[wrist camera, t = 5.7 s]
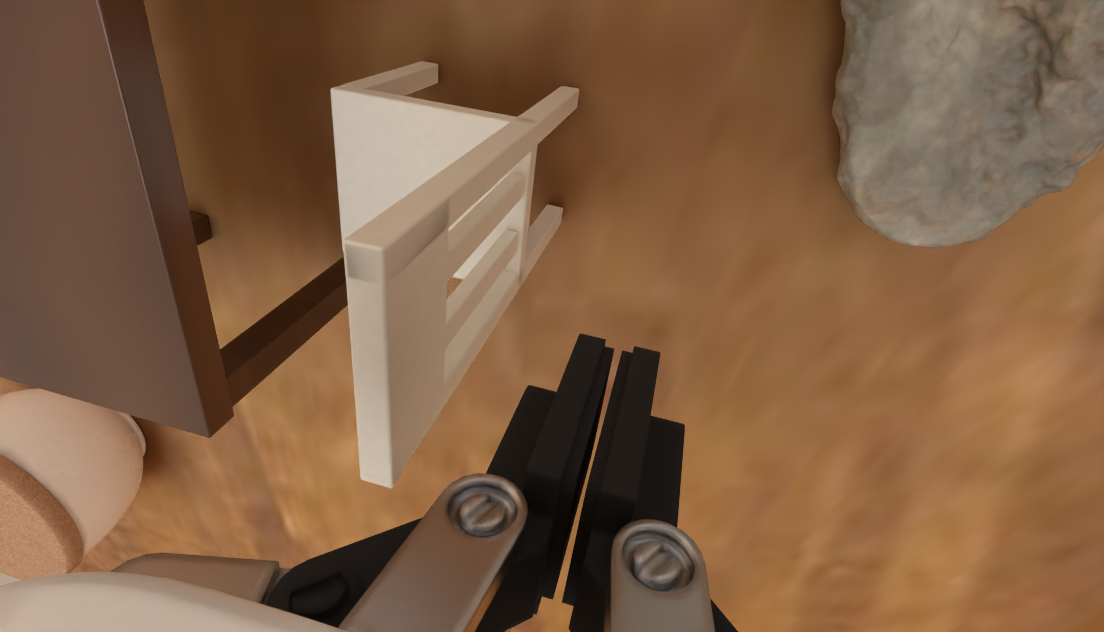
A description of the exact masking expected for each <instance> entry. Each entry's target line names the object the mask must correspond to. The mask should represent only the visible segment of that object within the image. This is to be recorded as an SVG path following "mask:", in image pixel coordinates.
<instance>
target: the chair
mask: <svg viewBox="0 0 1104 632" xmlns="http://www.w3.org/2000/svg"><path fill="white" fill-rule="evenodd" d="M437 83H438V64H436V63H430V62H424V61H421V62H418V63H414V64H411V65H407V66H404V67H400V68H397V69H394V70H390V71H387V72H383V73H380V74H376V75H373V76H370V77H366V78H363V79H359V80H356V81H352V82H349V83H346V84H343V85H340V86H337V87H334V88H331V90H330V92H331V106H332V119H333V132H334V145H335V158H336V172H337V185H338V198H339V211H340V225H341V238H342V250H343V252H344V263H345V276H346V286H347V299H348V313H349V326H350V340H351V353H352V367H353V380H354V393H355V407H356V420H357V434H358V447H359V466H360V478H361V479H362V480H364V481H367V482H371V483H374V484H378V485H381V486H384V487H388V488H392V487H393V486H394V484H395V482H396V481H397V479H398V478H399V476H400V475H401V473H402V471H403V470H404V468H405V467H406V465H407V464H408V462H409V461H410V459H411V457H412V456H413V454H414V453H415V451H416V450H417V448H418V446H419V445H420V443H421V442H422V440H423V439H424V437H425V435H426V434H427V432H428V431H429V429H430V428H431V426H432V424H433V423H434V421H435V420H436V418H437V417H438V415H439V414H440V412H441V410H442V409H443V407H444V406H445V404H446V403H447V401H448V399H449V398H450V396H451V395H452V393H453V392H454V390H455V388H456V387H457V385H458V384H459V382H460V381H461V379H462V377H463V376H464V374H465V373H466V371H467V370H468V368H469V366H470V365H471V363H472V362H473V360H474V359H475V357H476V356H477V354H478V352H479V351H480V349H481V348H482V346H483V345H484V343H485V341H486V340H487V338H488V337H489V335H490V334H491V332H492V330H493V329H494V327H495V326H496V324H497V323H498V321H499V319H500V318H501V316H502V315H503V313H504V312H505V310H506V309H507V307H508V305H509V304H510V302H511V301H512V299H513V298H514V296H515V294H516V293H517V291H518V290H519V288H520V287H521V285H522V283H523V282H524V280H525V279H526V277H527V276H528V274H529V272H530V271H531V269H532V268H533V266H534V265H535V263H536V262H537V260H538V258H539V257H540V255H541V254H542V252H543V251H544V249H545V247H546V246H547V244H548V243H549V241H550V240H551V238H552V236H553V235H554V233H555V232H556V230H557V229H558V227H559V225H560V224H561V221H562V213H563V208H562V207H557V206H552V205H546V207H545V208H544V209H543V211H542V212H541V213H540V215H539V216H538V217H537V219H536V220H535V221H534V223H533V224H532V225H531V227H530V228H529V219H530V210H531V201H532V191H533V182H534V173H535V163H536V154H537V145H538V144H539V143H540V142H541V141H542V140H543V139H544V138H545V137H546V136H547V135H548V134H549V133H551V132H552V131H553V130H554V129H555V128H556V127H557V126H558V125H559V124H560V123H561V122H562V121H563V120H564V119H566V118H567V117H568V116H569V115H570V114H571V113H572V112H573V111H574V110H575V109H576V108H577V104H578V97H579V89H578V88H572V87H566V86H561V87H559V88H558V89H556V90H555V91H554V92H552V93H551V94H549V95H548V96H547V97H545V98H544V99H542V100H541V101H539V102H538V103H537V104H535V105H534V106H532V107H531V108H530V109H528V110H527V111H525V112H524V113H522V114H521V115H520V116H518V117H515V116H509V115H504V114H498V113H493V112H488V111H482V110H477V109H471V108H466V107H461V106H455V105H450V104H445V103H439V102H434V101H428V100H423V99H418V98H412V97H407V96H406V95H408V94H411V93H414V92H416V91H419V90H421V89H424V88H426V87H429V86H432V85H434V84H437ZM451 277H454V278H458V279H463V281H462V282H461V283H460V284H459V285H458V287H457V288H456V289H455V290H454V291H453V293H452V294H451V295H450V296H449V297H448V299H447V282H448V281H449V280H450V278H451ZM446 299H447V300H446Z"/></svg>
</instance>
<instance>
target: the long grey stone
mask: <svg viewBox="0 0 1104 632" xmlns="http://www.w3.org/2000/svg"><path fill="white" fill-rule="evenodd" d="M840 7H841V14H842V16H843V19H844V20H845V24H846V25H845V35H844V51H843V56H842V64H841V66H840V68H839V69H838V71H837V75H836V81H835V90H836V97H835V99H834V102H833V106H832V116H833V118H834V120H835V123H836V125H837V127H838V132H839V135H840V139H841V145H840V164H839V167H838V172H837V181H838V183H839V185H840V187H841V189H842V191H843V193H844V194H845V196H846V197H847V199H848V200H849V201H850V202H851V203H852V205H853V212H854V214H855V215H856V217H857V218H859V219H860V220H861V221H862V222H863V223H864V224H865V225H867V226H869V227H870V228H871V229H873V230H874V231H876V232H877V233H879V234H880V235H882V236H883V237H884V238H886V239H888V240H891V241H895V242H898V243H902V244H905V245H908V246H912V247H916V246H921V247H931V248H936V247H943V246H946V247H951V246H956V245H959V244H961V243H970V242H975V241H978V240H981V239H983V238H985V237H987V236H988V234H989V233H990V232H991V231H992V230H994V229H995V228H996V227H998V226H999V225H1001V224H1002V223H1004V222H1005V221H1007V220H1008V219H1009V218H1011V217H1012V215H1014V214H1016V213H1017V212H1018V211H1019V210H1021V209H1023V208H1026V207H1028V206H1030V205H1031V204H1033V203H1034V202H1035V201H1036V200H1037V199H1038V198H1039V197H1040V196H1041V195H1045V194H1049V193H1056V192H1060V191H1062V190H1063V189H1065V188H1067V187H1069V186H1070V185H1071V184H1072V182H1073V180H1074V178H1075V176H1076V174H1077V172H1078V170H1079V169H1080V168H1081V167H1083V166H1084V165H1085V164H1087V163H1089V162H1090V161H1091V160H1092V159H1093V158H1094V157H1095V156H1096V155H1097V154H1098V153H1099V152H1100V150H1101V149H1102V147H1103V143H1104V0H841V4H840Z"/></svg>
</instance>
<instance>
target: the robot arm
mask: <svg viewBox="0 0 1104 632" xmlns="http://www.w3.org/2000/svg"><path fill="white" fill-rule="evenodd" d="M605 341H606V339H602V338H597V337H593V336H589V335H585V334H579V336H578V339H577V342H576V344H575V347H574V349H573V352H572V354H571V357H570V359H569V362H568V364H567V367H566V369H565V372H564V375H563V377H562V380H561V382H560V385H559V387H558V390H557V392H554V391H550V390H546V389H543V388H539V387H535V386H531V385H529V386H528V387H527V388H526V390H525V392H524V394H523V396H522V398H521V400H520V402H519V405H518V407H517V409H516V411H515V413H514V415H513V417H512V419H511V421H510V424H509V426H508V428H507V430H506V432H505V434H504V436H503V438H502V441H501V443H500V445H499V447H498V449H497V451H496V453H495V455H494V458H493V460H492V462H491V464H490V466H489V468H488V470H487V472H486V474H478V473H477V474H472V475H468V476H464V477H462V478H460V479H458V480H456V481H454V482H452V483H451V484H450V485H449V486H448V487H447V488H446V489H445V490H444V491H443V492H442V493H441V495H440V496H439V497H438V499H437V500H436V501H435V502H434V504H433V505H432V506H431V508H430V509H429V510H428V512H427V513H426V514H425V515H424V517H423V518H420V519H418V520H415V521H412V522H409V523H407V524H404V525H401V526H399V527H396V528H393V529H390V530H388V531H385V532H382V533H380V534H377V535H374V536H371V537H369V538H366V539H363V540H361V541H358V542H355V543H352V544H350V545H347V546H344V547H342V548H339V549H336V550H333V551H331V552H328V553H325V554H323V555H320V556H317V557H314V558H312V559H309V560H307V561H305V562H303V563H301V564H299V565H297V566H295V567H293V568H292V569H287V568H280V567H279V562H278V561H268V560H254V559H241V558H227V557H213V556H200V555H186V554H173V553H155V554H145V555H142V556H139V557H137V558H134V559H131V560H128V561H126V562H125V563H123V564H122V565H120V566H118V567H117V568H115V569H114V570H112V571H110V572H80V573H68V574H56V575H48V576H42V577H36V578H30V579H26V580H22V581H17V582H13V583H9V584H6V585H3V586H0V632H510V630H511V628H512V627H514V626H516V625H518V624H520V623H522V622H524V621H526V620H528V619H530V618H532V617H533V614H536V615H537V611H538V608H539V604H540V601H541V597H542V596H543V597H546V598H549V599H552V600H553V597H554V593H555V590H556V586H557V582H558V579H559V575H560V571H561V567H562V564H563V560H564V556H565V553H566V549H567V545H568V541H569V538H570V534H571V530H572V526H573V523H574V519H575V515H576V512H577V508H578V504H579V500H580V497H581V493H582V489H583V485H584V482H585V478H586V474H587V471H588V467H589V463H590V459H591V455H592V451H593V447H594V442H595V438H596V433H597V428H598V423H599V419H600V414H601V409H602V404H603V400H604V395H605V390H606V386H607V381H608V376H609V371H610V367H611V362H612V357H613V352H614V348H609V347H605ZM659 358H660V352H657V351H653V350H648V349H644V348H640V347H636V346H634V350H633V353H630V352H626V351H622V354H621V358H620V361H619V365H618V369H617V373H616V377H615V381H614V384H613V388H612V392H611V396H610V400H609V403H608V407H607V411H606V415H605V419H604V423H603V426H602V430H601V434H600V438H599V442H598V446H597V449H596V453H595V457H594V461H593V465H592V468H591V472H590V476H589V480H588V484H587V489H586V493H585V497H584V502H583V507H582V511H581V516H580V521H579V525H578V530H577V535H576V539H575V544H574V549H573V553H572V558H571V563H570V567H569V572H568V577H567V581H566V586H565V591H564V595H563V600H562V603H566V604H569V605H572V606H574V608H573V612H572V616H571V620H570V625H569V630H570V632H738V631H737V630H736V629H735V628H734V626H733V625H732V624H731V623H730V622H729V620H728V619H727V618H726V617H725V616H724V614H723V613H722V612H721V611H720V610H719V608H718V607H717V606H716V605H715V604H714V602H713V601H712V600H711V599H710V594H709V587H708V580H707V574H706V567H705V563H704V560H703V557H702V553H701V551H700V550H699V548H698V547H697V545H696V544H695V542H694V541H693V540H692V539H691V538H690V537H689V536H688V535H687V534H685V533H684V532H683V531H682V530H680V529H678V528H677V522H678V509H679V497H680V484H681V471H682V458H683V445H684V432H685V426H684V424H681V423H677V422H673V421H669V420H666V419H662V418H658V417H654V416H650V415H651V409H652V402H653V396H654V390H655V384H656V377H657V371H658V365H659Z"/></svg>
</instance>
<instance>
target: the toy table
mask: <svg viewBox="0 0 1104 632" xmlns="http://www.w3.org/2000/svg"><path fill="white" fill-rule="evenodd" d="M211 238H212V236H211V231H210V226H209V221H208V216H207V215H204V214H199V213H195V212H190V211H189V207H188V203H187V198H186V193H185V189H184V184H183V180H182V175H181V171H180V166H179V162H178V157H177V152H176V148H175V143H174V139H173V134H172V130H171V125H170V120H169V116H168V111H167V107H166V102H165V98H164V93H163V89H162V84H161V79H160V75H159V70H158V66H157V61H156V57H155V52H154V48H153V43H152V38H151V34H150V29H149V25H148V20H147V16H146V11H145V6H144V2H143V0H0V377H2V378H5V379H9V380H12V381H15V382H19V383H22V384H26V385H29V386H33V387H36V388H39V389H43V390H46V391H50V392H53V393H57V394H60V395H64V396H67V397H70V398H74V399H77V400H81V401H84V402H88V403H91V404H94V405H98V406H101V407H105V408H108V409H112V410H115V411H118V412H122V413H125V414H129V415H132V416H136V417H139V418H143V419H146V420H149V421H153V422H156V423H160V424H163V425H167V426H170V427H173V428H177V429H180V430H184V431H187V432H191V433H194V434H197V435H201V436H204V437H208V438H210V437H211V436H213V435H214V434H215V433H216V432H217V431H218V430H219V429H220V428H221V427H222V426H224V425H225V424H226V423H227V422H228V421H229V420H230V419H231V418H232V417H233V416H234V412H233V408H232V407H233V406H234V405H235V404H236V403H238V402H239V401H240V400H241V399H242V398H243V397H244V396H245V395H247V394H248V393H249V392H250V391H251V390H252V389H253V388H255V387H256V386H257V385H258V384H259V383H260V382H261V381H262V380H264V379H265V378H266V377H267V376H268V375H269V374H270V373H271V372H273V371H274V370H275V369H276V368H277V367H278V366H279V365H280V364H282V363H283V362H284V361H285V360H286V359H287V358H288V357H289V356H291V355H292V354H293V353H294V352H295V351H296V350H297V349H298V348H300V347H301V346H302V345H303V344H304V343H305V342H306V341H307V340H309V339H310V338H311V337H312V336H313V335H314V334H315V333H316V332H318V331H319V330H320V329H321V328H322V327H323V326H324V325H325V324H327V323H328V322H329V321H330V320H331V319H332V318H333V317H334V316H336V315H337V314H338V313H339V312H340V311H341V310H342V309H343V308H345V307H346V306H347V305H348V299H347V286H346V276H345V263H344V257H343V258H341V259H340V260H339V261H337V262H336V263H335V264H333V265H332V266H331V267H329V268H328V269H327V270H325V271H324V272H323V273H321V274H320V275H319V276H317V277H316V278H315V279H313V280H312V281H311V282H309V283H308V284H307V285H306V286H304V287H303V288H302V289H300V290H299V291H298V292H296V293H295V294H294V295H292V296H291V297H290V298H288V299H287V300H286V301H284V302H283V303H282V304H280V305H279V306H278V307H276V308H275V309H274V310H272V311H271V312H270V313H268V314H267V315H266V316H264V317H263V318H262V319H260V320H259V321H258V322H256V323H255V324H254V325H252V326H251V327H250V328H248V329H247V330H246V331H244V332H243V333H242V334H240V335H239V336H238V337H236V338H235V339H234V340H232V341H231V342H230V343H228V344H227V345H226V346H224V347H223V348H222V349H219V344H218V339H217V335H216V330H215V326H214V321H213V317H212V312H211V308H210V303H209V298H208V294H207V289H206V285H205V280H204V276H203V271H202V266H201V262H200V257H199V253H198V248H197V245H199V244H201V243H203V242H205V241H207V240H209V239H211Z"/></svg>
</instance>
